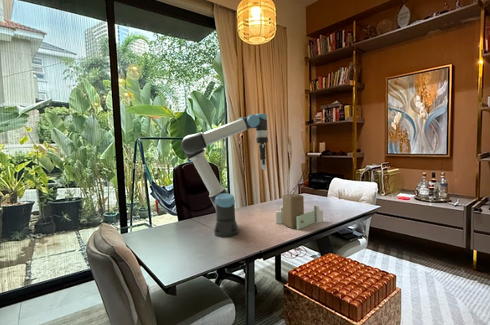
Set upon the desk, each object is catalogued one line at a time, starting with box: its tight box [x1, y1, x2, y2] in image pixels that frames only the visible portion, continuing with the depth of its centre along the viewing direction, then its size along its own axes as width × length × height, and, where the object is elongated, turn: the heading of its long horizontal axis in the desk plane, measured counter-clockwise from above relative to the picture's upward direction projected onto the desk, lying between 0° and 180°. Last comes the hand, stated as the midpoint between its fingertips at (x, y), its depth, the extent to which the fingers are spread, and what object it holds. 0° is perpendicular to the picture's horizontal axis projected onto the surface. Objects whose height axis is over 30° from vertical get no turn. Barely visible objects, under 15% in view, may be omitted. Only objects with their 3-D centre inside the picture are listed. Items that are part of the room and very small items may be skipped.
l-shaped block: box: [275, 205, 324, 225], centre depth 176 cm, size 31×2×11 cm, turn 89°
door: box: [296, 209, 316, 230], centre depth 168 cm, size 19×3×8 cm, turn 135°
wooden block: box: [282, 193, 305, 230], centre depth 170 cm, size 10×10×20 cm
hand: (263, 168), depth 179 cm, fingers open, 13 cm apart
